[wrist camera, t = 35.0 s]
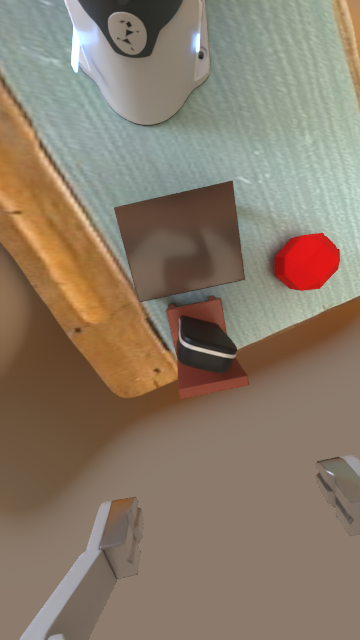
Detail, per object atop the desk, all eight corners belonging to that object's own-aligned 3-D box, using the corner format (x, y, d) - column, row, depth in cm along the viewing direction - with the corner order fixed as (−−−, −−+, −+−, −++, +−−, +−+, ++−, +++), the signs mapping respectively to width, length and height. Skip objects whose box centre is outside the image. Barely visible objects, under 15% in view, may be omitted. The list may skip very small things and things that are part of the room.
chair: (167, 304, 38) (163, 326, 24) (214, 294, 38) (238, 310, 23) (178, 352, 40) (180, 399, 26) (222, 343, 40) (249, 385, 26)
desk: (126, 220, 34) (113, 207, 27) (219, 199, 34) (232, 180, 26) (146, 295, 38) (138, 302, 30) (230, 277, 37) (245, 279, 30)
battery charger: (173, 335, 34) (173, 368, 23) (179, 313, 33) (182, 337, 22) (213, 345, 34) (232, 382, 23) (220, 324, 33) (243, 352, 22)
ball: (322, 259, 37) (359, 257, 29) (291, 294, 38) (319, 300, 31) (292, 230, 35) (323, 220, 28) (261, 267, 37) (282, 267, 30)
